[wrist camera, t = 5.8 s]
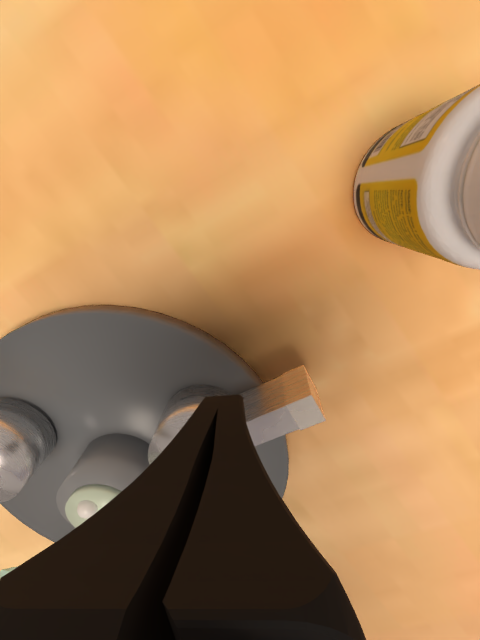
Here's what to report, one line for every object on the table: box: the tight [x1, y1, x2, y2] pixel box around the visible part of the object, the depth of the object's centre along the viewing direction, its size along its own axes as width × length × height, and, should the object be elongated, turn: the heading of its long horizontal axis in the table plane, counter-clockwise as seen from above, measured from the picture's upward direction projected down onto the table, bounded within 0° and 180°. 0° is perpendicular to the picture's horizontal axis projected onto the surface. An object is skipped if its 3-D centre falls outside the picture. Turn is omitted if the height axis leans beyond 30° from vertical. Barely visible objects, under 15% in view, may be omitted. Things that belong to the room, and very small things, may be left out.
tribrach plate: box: [0, 305, 289, 542], centre depth 18 cm, size 20×20×5 cm
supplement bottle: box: [354, 85, 480, 269], centre depth 9 cm, size 5×5×8 cm
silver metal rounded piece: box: [148, 365, 326, 465], centre depth 15 cm, size 8×5×3 cm, turn 119°
